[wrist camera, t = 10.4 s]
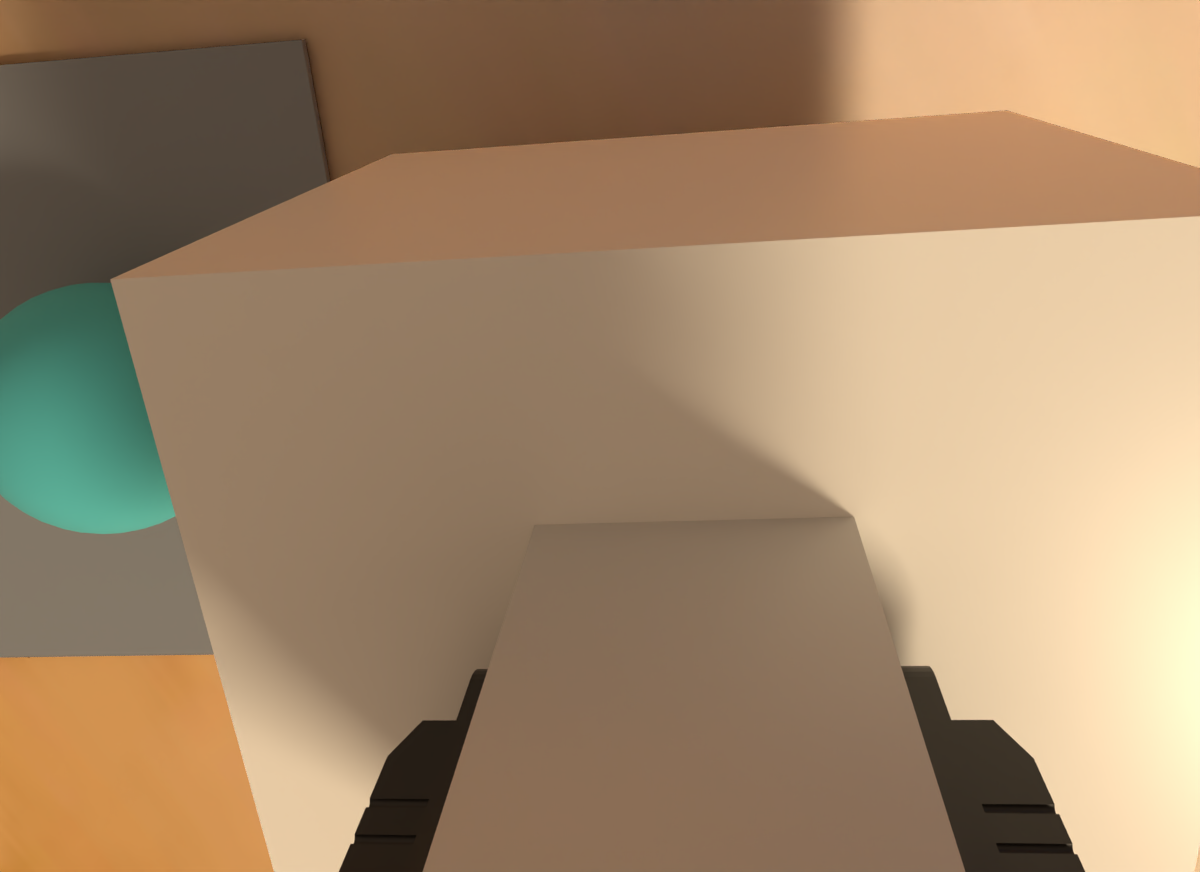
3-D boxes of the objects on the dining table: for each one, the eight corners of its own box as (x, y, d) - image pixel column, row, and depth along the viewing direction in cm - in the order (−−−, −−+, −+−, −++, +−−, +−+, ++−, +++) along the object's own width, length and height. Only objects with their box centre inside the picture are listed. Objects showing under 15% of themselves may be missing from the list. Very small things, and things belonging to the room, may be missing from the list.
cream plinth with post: (391, 154, 17) (-530, 563, 4) (1006, 110, 16) (2297, 497, 3) (467, 648, 21) (111, 1626, 8) (964, 642, 20) (1447, 1774, 7)
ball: (9, 348, 15) (279, 286, 19) (-116, 287, 18) (141, 243, 22) (69, 614, 17) (303, 512, 21) (-52, 524, 20) (174, 447, 24)
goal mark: (-339, 93, 20) (-349, 94, 20) (305, 39, 19) (301, 39, 19) (-104, 654, 26) (-110, 658, 26) (412, 646, 24) (411, 651, 24)
